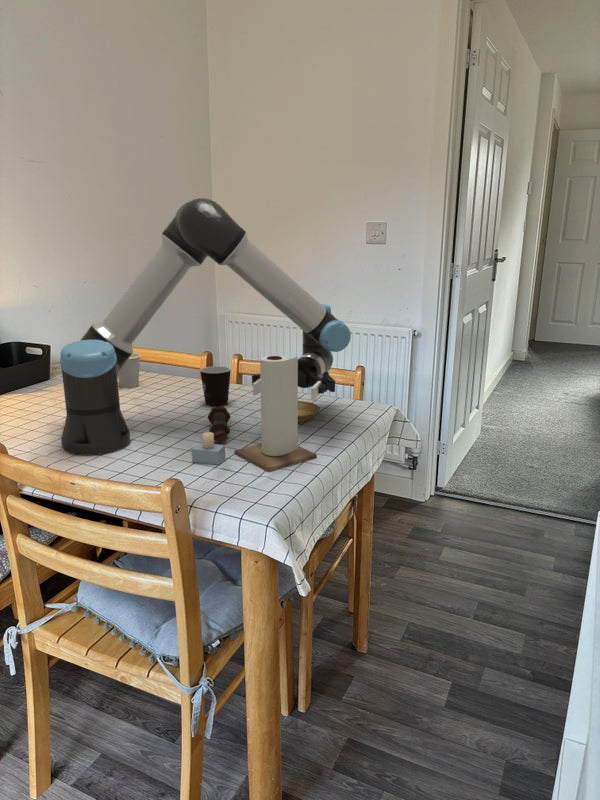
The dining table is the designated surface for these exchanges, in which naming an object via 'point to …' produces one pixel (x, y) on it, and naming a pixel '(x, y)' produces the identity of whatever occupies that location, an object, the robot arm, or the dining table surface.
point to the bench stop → (208, 451)
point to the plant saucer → (306, 410)
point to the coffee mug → (215, 385)
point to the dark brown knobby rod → (219, 423)
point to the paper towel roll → (279, 405)
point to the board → (274, 457)
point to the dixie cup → (130, 372)
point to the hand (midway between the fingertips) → (283, 391)
